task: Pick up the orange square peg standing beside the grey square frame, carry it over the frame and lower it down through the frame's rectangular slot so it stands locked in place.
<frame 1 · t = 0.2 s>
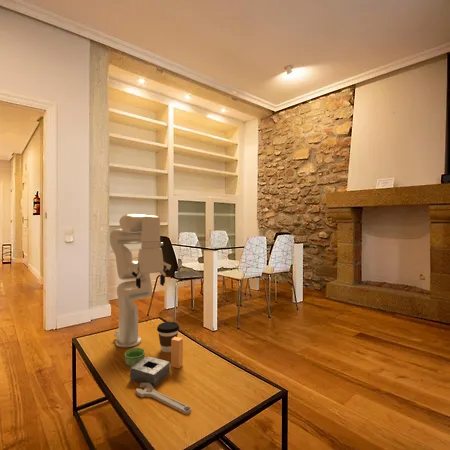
hand: (150, 286, 120), 37 cm above the table, tool pointing down, fingers open, 9 cm apart
adjustable wrench: (160, 402, 103), on the table
grey square frame: (150, 376, 117), on the table
orange square peg: (176, 365, 127), on the table
coffee cup: (168, 349, 141), on the table
ramekin: (134, 362, 129), on the table
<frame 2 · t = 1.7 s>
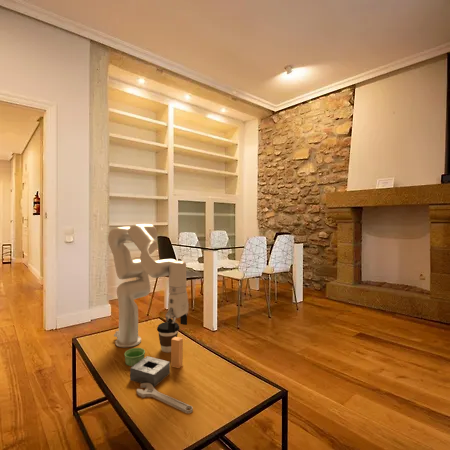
hand: (178, 328, 126), 17 cm above the table, tool pointing down, fingers open, 9 cm apart
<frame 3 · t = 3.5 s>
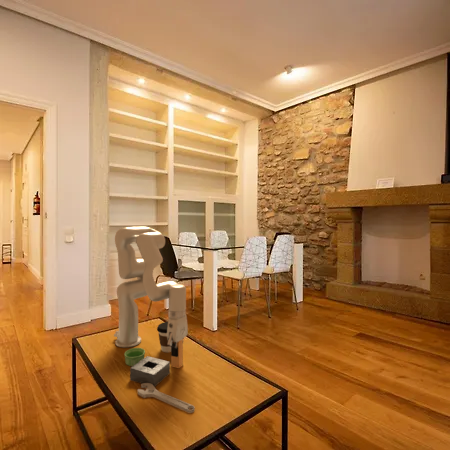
hand: (176, 353, 126), 5 cm above the table, tool pointing down, fingers closed on orange square peg, 3 cm apart
orange square peg: (177, 365, 126), on the table, touching gripper
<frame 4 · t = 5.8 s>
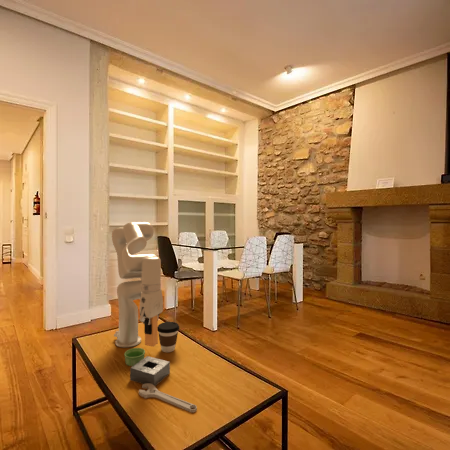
hand: (151, 331, 117), 19 cm above the table, tool pointing down, fingers closed on orange square peg, 3 cm apart
orange square peg: (151, 344, 117), point 14 cm above the table, touching gripper
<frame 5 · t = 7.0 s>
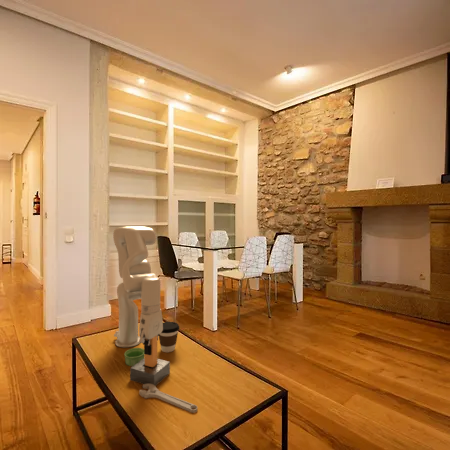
hand: (150, 351, 117), 10 cm above the table, tool pointing down, fingers closed on orange square peg, 3 cm apart
orange square peg: (151, 364, 117), point 5 cm above the table, touching gripper
when the fingers open (6 cm above the table, at t = 8.0 s): orange square peg moves 1 cm, resting in grey square frame.
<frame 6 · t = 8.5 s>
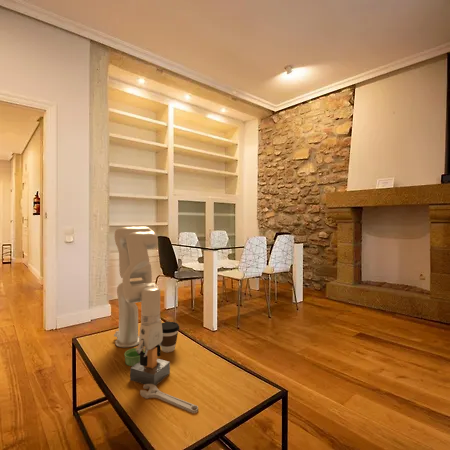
hand: (150, 360, 117), 7 cm above the table, tool pointing down, fingers open, 8 cm apart
orange square peg: (150, 376, 117), resting in grey square frame
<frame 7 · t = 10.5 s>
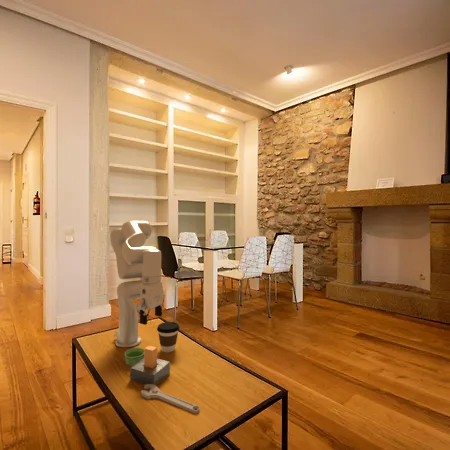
hand: (151, 319, 119), 23 cm above the table, tool pointing down, fingers open, 9 cm apart
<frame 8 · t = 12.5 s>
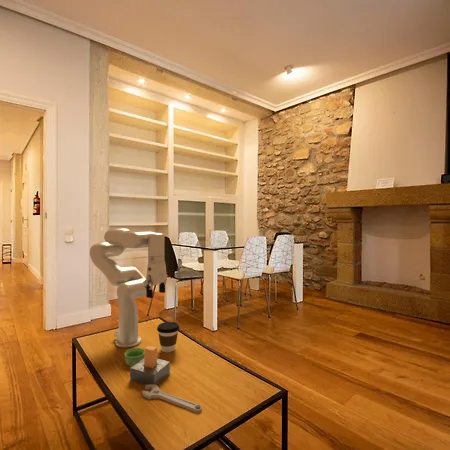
hand: (156, 295, 136), 28 cm above the table, tool pointing down, fingers open, 9 cm apart
at the end: orange square peg 0.1 cm off-centre on the grey square frame, point 0.0 cm above the grey square frame's base; orange square peg tilted 0°; the gripper is holding nothing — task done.
